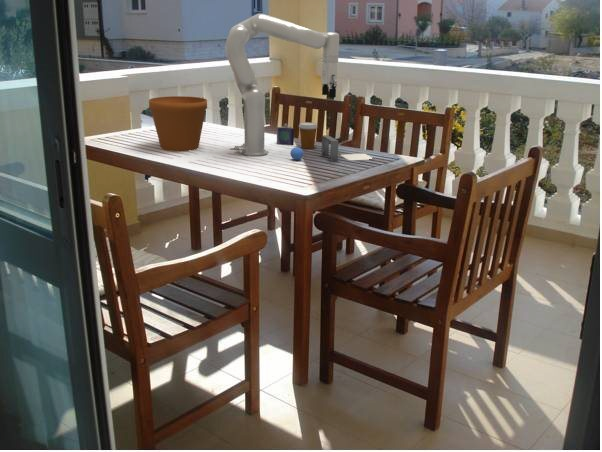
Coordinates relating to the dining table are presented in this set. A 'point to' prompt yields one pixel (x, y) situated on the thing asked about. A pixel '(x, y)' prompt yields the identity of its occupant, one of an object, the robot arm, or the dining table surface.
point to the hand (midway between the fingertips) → (328, 96)
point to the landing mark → (356, 157)
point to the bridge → (334, 148)
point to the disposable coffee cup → (307, 134)
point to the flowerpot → (178, 121)
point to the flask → (285, 135)
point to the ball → (296, 153)
